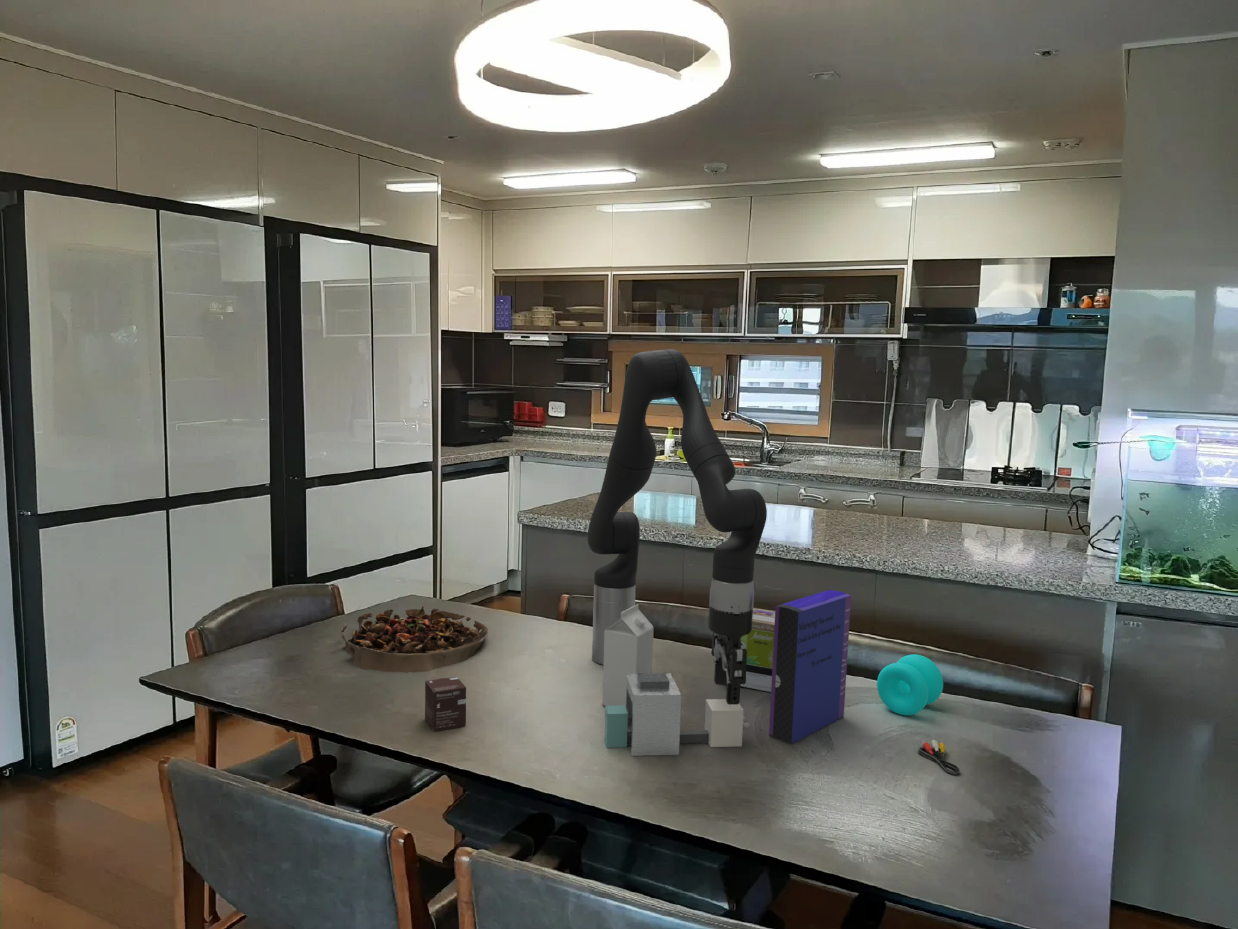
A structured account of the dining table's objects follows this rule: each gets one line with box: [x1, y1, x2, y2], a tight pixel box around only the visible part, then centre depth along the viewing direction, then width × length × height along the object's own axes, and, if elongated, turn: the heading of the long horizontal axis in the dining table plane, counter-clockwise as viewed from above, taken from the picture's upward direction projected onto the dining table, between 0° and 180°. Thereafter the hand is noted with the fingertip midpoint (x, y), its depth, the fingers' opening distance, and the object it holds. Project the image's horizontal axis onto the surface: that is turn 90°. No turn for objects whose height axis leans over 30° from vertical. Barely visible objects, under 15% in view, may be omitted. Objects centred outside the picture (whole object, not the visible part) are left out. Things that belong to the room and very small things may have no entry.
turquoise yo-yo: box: [876, 653, 944, 716], centre depth 162 cm, size 10×10×10 cm
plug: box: [604, 698, 751, 749], centre depth 144 cm, size 5×25×6 cm, turn 97°
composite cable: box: [917, 737, 961, 777], centre depth 140 cm, size 10×5×2 cm, turn 179°
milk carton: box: [601, 603, 654, 707], centre depth 160 cm, size 7×7×19 cm
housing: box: [625, 672, 682, 757], centre depth 143 cm, size 10×8×12 cm
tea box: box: [725, 607, 775, 693], centre depth 173 cm, size 15×10×15 cm
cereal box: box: [768, 589, 852, 746], centre depth 151 cm, size 17×5×24 cm, turn 134°
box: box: [424, 676, 467, 732], centre depth 149 cm, size 6×6×7 cm
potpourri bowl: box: [340, 605, 489, 674], centre depth 190 cm, size 35×33×8 cm
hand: (726, 693), depth 145 cm, fingers open, 8 cm apart
